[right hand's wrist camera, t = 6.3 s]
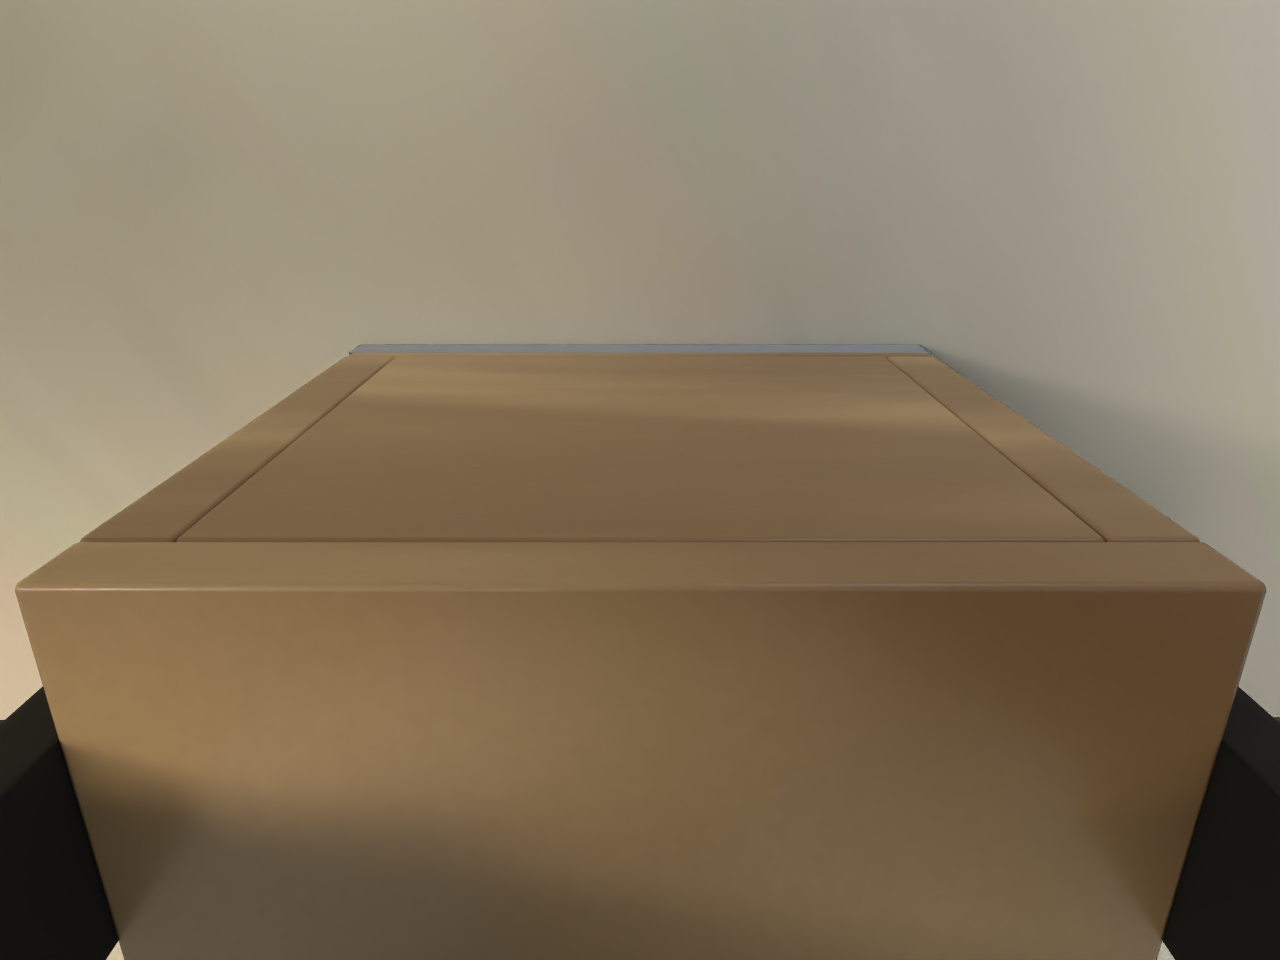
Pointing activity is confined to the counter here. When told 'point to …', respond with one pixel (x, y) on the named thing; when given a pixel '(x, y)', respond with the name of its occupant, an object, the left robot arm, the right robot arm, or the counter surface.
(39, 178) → the counter surface
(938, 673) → the cabinet
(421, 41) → the counter surface
